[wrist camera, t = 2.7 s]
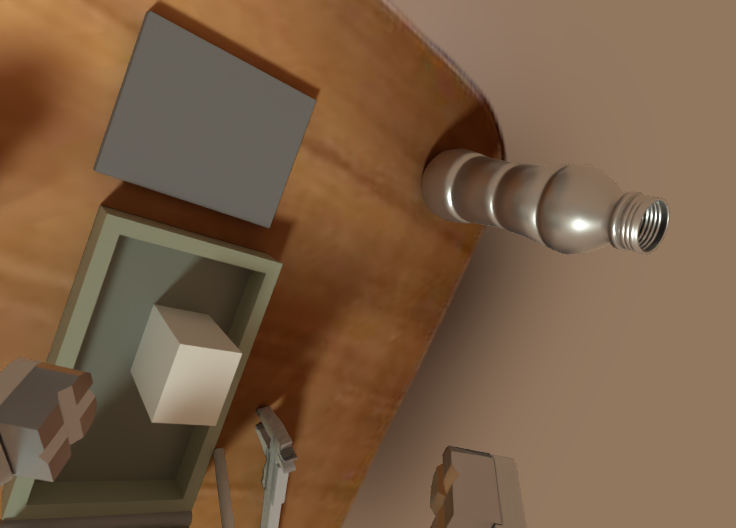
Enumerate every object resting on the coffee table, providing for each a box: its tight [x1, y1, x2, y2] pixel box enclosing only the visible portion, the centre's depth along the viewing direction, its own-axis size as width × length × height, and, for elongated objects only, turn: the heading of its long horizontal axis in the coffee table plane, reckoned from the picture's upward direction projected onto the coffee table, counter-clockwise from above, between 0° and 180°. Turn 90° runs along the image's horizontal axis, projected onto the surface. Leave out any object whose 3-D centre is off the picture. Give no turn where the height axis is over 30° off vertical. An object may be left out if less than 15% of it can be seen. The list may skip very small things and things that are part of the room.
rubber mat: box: [93, 11, 316, 228], centre depth 34 cm, size 12×10×1 cm
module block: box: [130, 304, 242, 426], centre depth 34 cm, size 4×5×7 cm
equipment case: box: [0, 205, 283, 528], centre depth 28 cm, size 13×22×21 cm, turn 154°
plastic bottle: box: [421, 149, 670, 254], centre depth 39 cm, size 6×7×20 cm
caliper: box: [256, 406, 298, 528], centre depth 44 cm, size 20×1×6 cm, turn 175°
